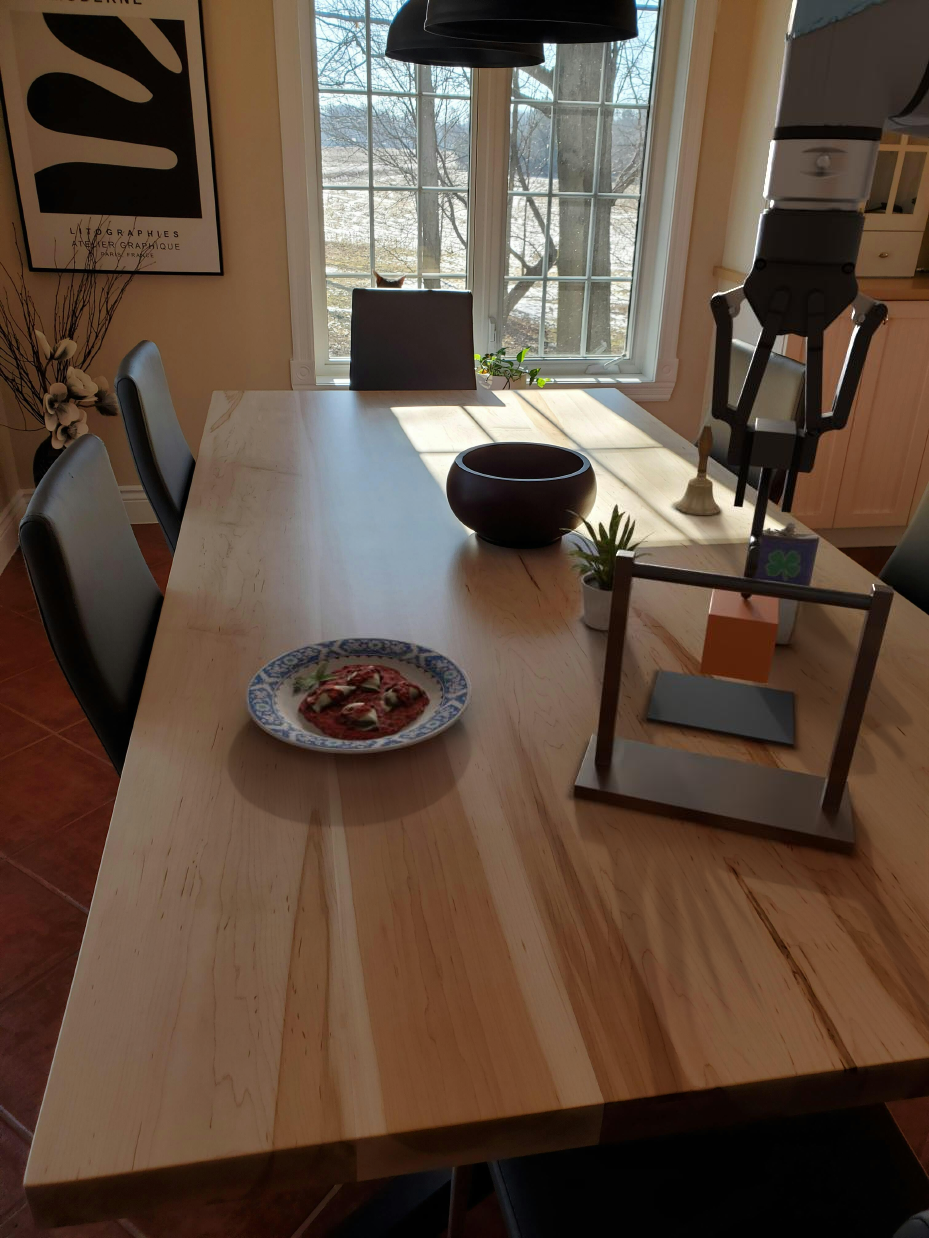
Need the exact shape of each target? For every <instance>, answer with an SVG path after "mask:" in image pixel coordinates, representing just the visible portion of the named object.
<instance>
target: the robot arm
mask: <svg viewBox="0 0 929 1238" xmlns="http://www.w3.org/2000/svg"><path fill="white" fill-rule="evenodd" d="M789 16H790V17H789V19H788V20H789V21H788V25H787V31H786V33H785V35H784V42H785V46H784V53H783V61H782V68H781V77H780V83H779V91H778V98H777V107H776V115H775V121H774V128H773V133H772V140H771V142H770V148H769V156H768V163H767V170H766V176H765V182H764V183H765V184H764V191H763V197H764V199H765V200H766V201H770V205H769V204H768V208H764V209H763V212H762V213H761V212H760V216H759V222H758V228H757V235H756V240H755V249H754V255H753V261H752V267H751V269H750V271H749V273H748V275H747V276H746V277H745V279H744V281H743V285H740V286H738V287H735V288H733V289H730V290H727V291H725V292H722V291H719V292H716V293H714V294H713V296H712V297H711V299H710V302H709V307H710V310H711V313H712V316H713V320H714V322H715V326H716V328H715V329H716V330H715V343H714V344H715V345H714V363H713V376H712V377H713V378H712V379H713V380H712V395H711V410H710V411H711V412H710V414H711V416H712V418H713V419H715V420H718V421H719V420H720V421H721V422H724V423H726V424H727V425H728V426H729V428H730V435H729V442H728V448H727V449H728V450H727V456H726V461H727V465H728V466H734V467H739V470H738V475H737V481H736V482H737V483H736V489H735V494H734V495H735V496H734V500H733V501H734V502H733V507H734V508H744V502H745V495H746V490H747V483H748V478H749V472H750V466H749V465H750V458H751V452H752V446H753V440H754V433H755V424H750V423H749V419H750V417H751V413H752V410H753V408H754V406H755V402H756V398H757V396H758V393H759V390H760V386H761V384H762V381H763V378H764V375H765V373H766V369H767V366H768V363H769V360H770V357H771V354H772V351H773V348H774V346H775V342H776V340H777V337H779V336H780V337H781V336H786V335H795V336H798V337H801V338H805V387H804V388H805V392H804V395H805V396H804V428H796V439H795V445H794V450H793V456H792V461H791V466H790V470H786V475H785V478H784V479H785V480H784V485H783V490H782V491H783V492H782V495H781V503H780V505H781V506H780V507H781V508H780V509H781V510H780V511H781V513H787V514H791V512H792V507H793V502H794V497H795V492H796V485H797V480H798V476H799V473H805V474H811V472H812V471H813V470H814V467H815V461H816V456H817V452H818V448H819V441H820V438H821V437H822V435H823V434H825V433H827V432H831V431H841V430H843V429H844V428H846V426H847V424H848V420H849V417H850V413H851V410H852V407H853V403H854V400H855V396H856V393H857V389H858V386H859V383H860V379H861V376H862V373H863V369H864V366H865V362H866V359H867V357H868V353H869V349H870V346H871V342H872V338H873V336H874V335H875V333H876V332H877V330H878V328H879V327H880V326H881V325H882V323H883V322H884V320H885V319H886V317H887V315H888V314H889V308H888V306H887V305H886V303H884V302H883V301H882V300H879V299H877V300H875V299H873V298H871V297H869V296H868V295H865V294H864V293H862V292H860V291H859V283H858V280H857V277H856V269H857V264H858V257H859V252H860V247H861V242H862V238H863V232H864V227H865V222H866V219H867V217H866V216H865V215H864V211H859V209H860V203H866V202H867V201H868V200H870V196H871V191H872V186H873V180H874V175H875V170H876V165H877V159H878V155H879V154H878V153H879V149H880V145H881V142H880V141H882V138H883V132H888V133H894V134H900V135H904V136H905V135H906V136H909V137H915V138H922V139H929V0H793V1H792V5H791V10H790V15H789ZM745 300H746V301H747V303H748V305H749V306H750V309H751V310H752V312H753V314H754V316H755V317H756V319H757V321H758V323H759V325H760V326H761V330H760V333H759V335H758V339H757V343H756V346H755V348H754V350H753V351H754V352H753V355H752V358H751V361H750V364H749V368H748V371H747V372H746V377H745V379H744V382H743V386H742V389H741V391H740V395H739V398H738V401H737V403H736V406H734V405H733V404H730V403H729V395H730V393H729V392H730V379H731V368H732V367H731V365H732V354H733V353H732V351H733V350H732V349H733V339H734V338H733V337H734V336H733V335H734V319H735V318H737V317H738V316H739V314H740V312H741V304H742V302H743V301H745ZM849 306H852V307H853V312H852V314H851V320H852V322H853V324H854V325H855V327H854V329H853V331H852V333H851V338H850V341H849V345H848V348H847V352H846V356H845V359H844V362H843V366H842V370H841V373H840V377H839V380H838V383H837V388H836V390H835V394H834V398H833V401H832V405H831V408H830V411H829V412H825V413H823V380H824V379H823V377H824V376H823V375H824V371H823V370H824V367H823V366H824V344H825V343H824V342H825V341H824V340H825V335H824V334H825V331H826V330H827V329H828V328H829V327H830V326H831V325H832V324H833V323H834V322H835V321H836V320H837V319H838V318H839V316H841V315H842V314H843V313H844V312H845V310H846V309H848V307H849Z"/></svg>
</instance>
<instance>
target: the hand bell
mask: <svg viewBox="0 0 929 1238" xmlns="http://www.w3.org/2000/svg"><path fill="white" fill-rule="evenodd" d="M713 443H714V436H713V431H712V425H710V424H704V425H703V427H702V430H701V432H700V434H699V437H698V441H697V452H698V464H697V473H696V476H695V477H693V478H690V479H689V480H688V483H687V486H686V489H685V492H684V494H683V495H682V497H681V498H680V499H678V501H677V502H675V504H674V507H675V509H676V510H677V511H679V512H682V513H685V514H688V515H693V516H711V515H715V514H718V513H719V512H720V510H721V509H720V506H719V505H718V503H716V501H715V498H714V497H715V496H714V491H713V489H714V488H713V487H714V483H713V481H712V480H711V479H709V478H707V472H708V470H707V469H708V460H709V457H710V454H711V452H712V449H713Z"/></svg>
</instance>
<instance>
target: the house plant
mask: <svg viewBox="0 0 929 1238" xmlns="http://www.w3.org/2000/svg"><path fill="white" fill-rule="evenodd" d="M566 511H567V512H569V513H572V514H573V515H575V516H577V517H578V519H580V520H581V521H582V523H583V524H584V525H585V527H586V529H587V532H588V533H589V535H590V537H591V539H592V541H593V542H592V541H591V540H590V539H589V538H587V537H586V535H584V534H583V533H581V532H580V531H578V530H575V529H573V528H560V530H565V531H571V532H575V533H578V534H580V535H581V536H580V535H577V534H574V533H570V535H572V536H577V537H578V538H579V539H580V540H581V541H582V542H583V543H584V544H585V546H586V547H587V549H588V550H589V552H590V553H587V552H586V551H584V550H583V549H582V547H581V546H580V545H579V544H578V543H576V542H575V541H572V540H569V539H567V540H568V541H569V542H570V543H572V544H573V545H574V546H575V548H577V549H574V550H571V551H569V552H568V553H566V554H565V555H566V556H570V557H572V558H573V559H572V558H567V561H575V562H578V563H576V564H574V565H573V566H572V567H571V569H570V571H569V573H571V572H572V571H576V570H579V573H578V575H577V578H580V577H581V576H582V578H581V580H580V581H581V592H582V601H583V603H582V604H583V617H584V622H585V624H586V625H587V626H588V627H590V628H593V629H596V630H599V631H608V628H609V619H610V609H611V599H612V590H613V580H614V571H615V561H616V555H617V553H618V551H619V550H625V551H632V552H634V550H635V549H636V548H638V546H639V545H640V544H642V543H649V541H648V540H645V539H647V538H648V537H649V536H651V535H652V534H654V533H655V531H654V532H652V533H650V534H648V535H647V536H645V537H644V538H643V539H642V540H640V541H639V542H637V543H635V544H632V545H631V546H629V547H628V545H629V544H630V541H631V539H632V537H633V535H634V531H635V526H636V519H634V520H633V521H632V524H631V525H630V523H631V514H630V513H628V515H627V519H626V521H625V524H624V526H623V529H622V533H621V536H620V537H619V538H620V539H619V541H618V544H617V543H616V541H617V536H618V533H619V532H618V531H619V528H620V524H621V521H622V518H623V516H624V515H625V514H626V513H627V511H626V510H625V511H623V512H621V513H619V506H618V503H616V504H615V505H614V506H613V510H612V512H611V517H610V521H609V525H608V526H609V528H608V533H607V530H606V529H605V527H604V525H603V523H602V521H599V523H598V535H599V539H598V538H597V534H596V532H595V529H594V528H593V526H592V524H590V523H589V521H587V520H586V519H585V518H584V517H583V516H581V515H580V514H578V513H576V512H574V511H571V510H568V509H566ZM582 536H583V537H585V538H586V539H587V540H588V542H589V543H590V544H591V545H592V546H593V547H594V549H595V551H596V553H597V555H596V554H594V552H593V550H592V548H591V547H590V545H589V544H588V542H587V541H586V540H585V539H584V538H583V537H582ZM593 543H594V544H593ZM645 556H652V557H655V555H653V554H652V553H640V554H637V555H636V556H635V560H637V559H639V558H641V557H645ZM574 558H580V559H583V560H585V562H586V563H587V564H584V563H582V562H581V561H579V560H578V559H574ZM601 567H602V568H601ZM638 580H639V581H640V578H638ZM632 589H634V581H633V582H632Z"/></svg>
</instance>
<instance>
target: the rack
mask: <svg viewBox="0 0 929 1238" xmlns="http://www.w3.org/2000/svg"><path fill="white" fill-rule="evenodd" d="M636 554H637V552H636V551H633V552H632V551H626V550H619V551H618V553H617V555H616V561H615V571H614V580H613V590H612V599H611V609H610V619H609V628H608V630H607V637H606V647H605V656H604V667H603V675H602V686H601V696H600V705H599V716H598V725H597V733H595V732H593V733H592V735H591V737H590V740H589V742H588V743H589V744H588V746H587V749H586V752H585V754H584V758H583V760H582V762H581V766H580V769H579V771H578V774H577V777H576V779H575V783H574V784H573V785H574V786H573V798H576V799H581V800H586V801H590V802H595V803H596V802H597V803H600V804H605V805H610V806H615V807H619V808H623V809H627V810H628V809H629V810H632V811H633V810H634V811H638V812H642V813H643V812H644V813H647V814H651V815H657V816H662V817H667V818H671V819H676V820H679V821H686V822H691V823H694V824H698V825H699V824H700V825H704V826H709V827H714V828H717V829H718V828H720V829H722V830H727V831H728V830H729V831H732V832H737V833H742V834H746V835H751V836H757V837H761V838H766V839H771V840H775V841H781V842H785V843H789V844H795V845H799V846H804V847H809V848H814V849H817V850H818V849H819V850H823V851H828V852H833V853H837V854H841V855H847V856H852V855H853V851H854V848H855V844H856V842H855V833H854V832H855V831H854V824H853V814H852V813H853V812H852V803H851V795H850V794H851V793H850V785H849V781H848V777H849V773H850V768H851V766H852V761H853V756H854V753H855V750H856V746H857V742H858V738H859V733H860V730H861V726H862V722H863V719H864V718H863V717H864V714H865V710H866V706H867V702H868V698H869V694H870V690H871V687H872V684H873V683H872V682H873V679H874V675H875V670H876V667H877V663H878V659H879V655H880V650H881V647H882V645H883V644H882V643H883V639H884V635H885V632H886V627H887V623H888V620H889V616H890V612H891V608H892V604H893V600H894V596H895V591H894V588H893V586H891V585H884V584H876V583H873V584H872V586H871V589H870V593H863V592H861V593H860V592H853V591H846V590H840V589H839V590H838V589H832V588H825V587H818V586H811V585H810V586H803V585H796V584H789V583H781V582H774V581H767V580H760V579H752V578H745V577H743V576H738V575H729V574H724V573H723V574H721V573H716V572H715V573H714V572H710V571H709V572H708V571H700V570H693V569H685V568H679V567H672V566H665V565H658V564H657V565H656V564H651V563H643V562H636V559H635V557H636V556H637V555H636ZM634 579H641V580H648V581H656V582H661V583H669V584H675V585H676V584H677V585H684V586H691V587H697V588H703V589H704V588H705V589H711V590H722V591H729V592H736V593H746V594H753V595H760V596H767V597H774V598H781V599H788V600H795V601H802V602H803V603H810V604H818V605H823V606H831V607H839V608H844V609H853V610H860V611H865V614H864V619H863V623H862V627H861V631H860V635H859V639H858V642H857V647H856V652H855V655H854V660H853V664H852V668H851V672H850V676H849V679H848V680H849V681H848V684H847V689H846V693H845V697H844V701H843V706H842V710H841V712H840V713H841V714H840V717H839V722H838V726H837V729H836V734H835V737H834V743H833V747H832V750H831V754H830V759H829V764H828V768H827V772H826V775H825V776H821V775H815V774H810V773H805V772H801V771H795V770H790V769H784V768H778V767H774V766H769V765H763V764H760V763H759V764H758V763H753V762H747V761H743V760H737V759H732V758H727V757H722V756H716V755H711V754H706V753H702V752H701V753H700V752H695V751H690V750H684V749H679V748H674V747H669V746H663V745H659V744H653V743H647V742H643V741H638V740H632V739H627V738H623V737H616V730H617V720H618V712H619V711H618V710H619V703H620V694H621V685H622V677H623V668H624V659H625V650H626V642H627V633H628V624H629V616H630V608H631V607H630V606H631V600H632V599H631V598H632V591H633V588H632V582H633V583H634Z"/></svg>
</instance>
